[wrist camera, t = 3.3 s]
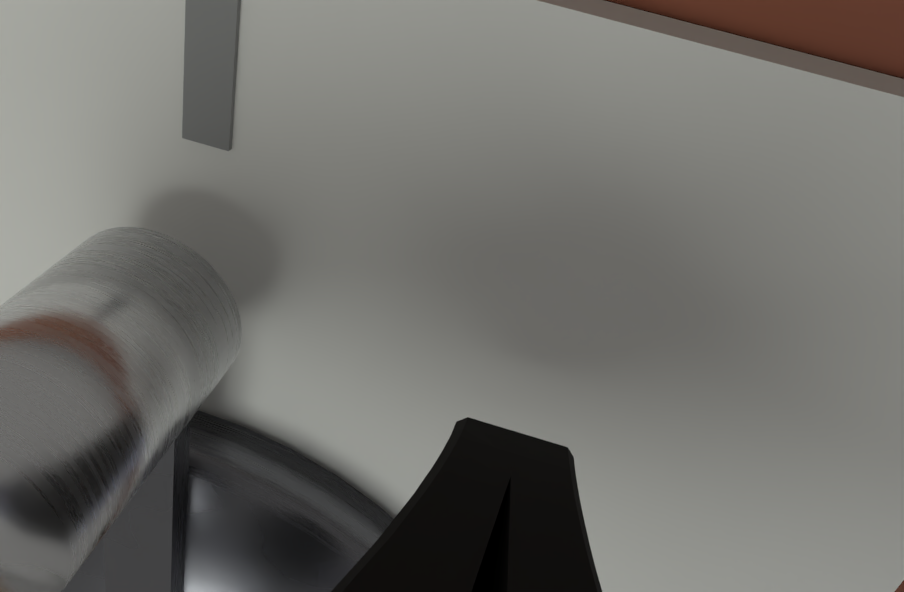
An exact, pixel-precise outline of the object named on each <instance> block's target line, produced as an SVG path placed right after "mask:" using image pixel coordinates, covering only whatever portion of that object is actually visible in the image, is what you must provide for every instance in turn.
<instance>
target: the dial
mask: <svg viewBox="0 0 904 592" xmlns="http://www.w3.org/2000/svg"><path fill="white" fill-rule="evenodd" d="M241 339H242V325H241V319H240V314H239V311H238V307H237V305H236V302H235V300H234V297H233V295H232V293H231V292H230V290H229V288H228V286H227V285H226V283H225V282H224V281H223V279H222V278H221V276H220V275H219V274H218V273H217V271H216V270H215V269H214V268H213V267H212V266H211V265H210V264H209V263H208V262H207V261H206V260H205V259H204V258H203V257H202V256H200V255H199V254H198V253H196V252H195V251H194V250H192V249H191V248H190V247H188V246H186V245H185V244H183V243H181V242H180V241H178V240H176V239H174V238H172V237H170V236H168V235H165V234H162V233H159V232H156V231H153V230H149V229H145V228H138V227H116V228H110V229H106V230H103V231H100V232H98V233H96V234H94V235H92V236H90V237H89V238H88V239H87V240H85V241H84V242H83V243H81V244H80V245H79V246H77V247H76V248H75V249H74V250H72V251H71V252H70V253H68V254H67V255H66V256H64V257H63V258H62V259H61V260H59V261H58V262H57V263H55V264H54V265H53V266H51V267H50V268H49V269H48V270H46V271H45V272H44V273H42V274H41V275H40V276H38V277H37V278H36V279H35V280H33V281H32V282H31V283H29V284H28V285H27V286H25V287H24V288H23V289H22V290H20V291H19V292H18V293H16V294H15V295H14V296H12V297H11V298H10V299H9V300H7V301H6V302H5V303H3V304H2V305H1V306H0V592H331V591H332V590H333V589H334V588H335V586H336V585H337V584H338V583H339V582H340V581H341V580H342V579H343V578H344V577H345V575H346V574H347V573H348V572H349V571H350V570H351V569H352V568H353V567H354V565H355V564H356V563H357V562H358V561H359V560H360V559H361V558H362V557H363V556H364V554H365V553H366V552H367V551H368V550H369V549H370V548H371V547H372V545H373V544H374V543H375V542H376V541H377V540H378V538H379V537H380V536H381V535H382V534H383V532H384V531H385V530H386V528H387V527H388V526H389V525H390V523H391V522H392V521H393V520H394V519H393V518H392V517H391V516H390V515H389V514H388V513H387V512H385V511H384V510H383V509H382V508H381V507H380V506H379V505H377V504H376V503H375V502H373V501H372V500H370V499H369V498H368V497H366V496H365V495H363V494H362V493H361V492H359V491H358V490H356V489H355V488H354V487H352V486H351V485H350V484H348V483H347V482H345V481H344V480H343V479H341V478H340V477H338V476H337V475H335V474H334V473H332V472H330V471H329V470H327V469H325V468H323V467H322V466H320V465H318V464H317V463H315V462H313V461H311V460H310V459H308V458H306V457H305V456H303V455H301V454H299V453H298V452H296V451H294V450H293V449H291V448H289V447H286V446H284V445H282V444H280V443H278V442H276V441H274V440H271V439H269V438H267V437H265V436H263V435H261V434H259V433H256V432H254V431H252V430H250V429H248V428H246V427H244V426H241V425H238V424H235V423H233V422H230V421H227V420H224V419H221V418H219V417H216V416H213V415H210V414H207V413H205V412H202V411H199V410H198V409H199V408H200V406H201V405H202V404H203V402H204V401H205V400H206V398H207V397H208V396H209V394H210V393H211V392H212V390H213V389H214V388H215V386H216V385H217V384H218V382H219V381H220V380H221V378H222V377H223V376H224V374H225V373H226V372H227V370H228V369H229V368H230V366H231V365H232V364H233V362H234V360H235V358H236V357H237V355H238V352H239V349H240V345H241Z"/></svg>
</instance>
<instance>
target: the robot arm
mask: <svg viewBox="0 0 904 592" xmlns="http://www.w3.org/2000/svg"><path fill="white" fill-rule="evenodd" d="M331 592H602V589H601V585H600V582H599V578H598V575H597V571H596V568H595V564H594V560H593V556H592V552H591V548H590V544H589V539H588V535H587V531H586V526H585V522H584V517H583V512H582V507H581V502H580V497H579V492H578V486H577V479H576V473H575V465H574V457H573V455H572V453H571V452H570V450H569V448H568V447H565V446H562V445H559V444H555V443H552V442H549V441H545V440H542V439H539V438H536V437H532V436H529V435H526V434H522V433H519V432H516V431H512V430H509V429H506V428H502V427H499V426H496V425H492V424H489V423H486V422H482V421H479V420H476V419H472V418H469V417H467V418H464V419H462V420H459V421H457V422H456V424H455V426H454V429H453V431H452V434H451V436H450V438H449V440H448V441H447V443H446V445H445V447H444V449H443V451H442V452H441V454H440V456H439V457H438V459H437V460H436V462H435V464H434V465H433V467H432V468H431V470H430V471H429V473H428V474H427V476H426V477H425V478H424V480H423V481H422V483H421V484H420V486H419V487H418V488H417V490H416V491H415V493H414V494H413V495H412V497H411V498H410V499H409V500H408V502H407V503H406V504H405V506H404V507H403V508H402V509H401V511H400V512H399V513H398V514H397V516H396V517H395V518H394V520H393V521H392V522H391V523H390V525H389V526H388V527H387V528H386V530H385V531H384V532H383V534H382V535H381V536H380V537H379V538H378V540H377V541H376V542H375V543H374V544H373V545H372V547H371V548H370V549H369V550H368V551H367V552H366V553H365V554H364V556H363V557H362V558H361V559H360V560H359V561H358V562H357V563H356V564H355V565H354V567H353V568H352V569H351V570H350V571H349V572H348V573H347V574H346V575H345V577H344V578H343V579H342V580H341V581H340V582H339V583H338V584H337V585H336V586H335V588H334V589H333V590H332V591H331Z"/></svg>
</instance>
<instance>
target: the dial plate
mask: <svg viewBox="0 0 904 592" xmlns="http://www.w3.org/2000/svg"><path fill="white" fill-rule="evenodd" d="M116 227H138V228H145V229H149V230H153V231H156V232H159V233H162V234H165V235H168V236H170V237H172V238H174V239H176V240H178V241H180V242H181V243H183V244H185V245H186V246H188V247H190V248H191V249H192V250H194V251H195V252H196V253H198V254H199V255H200V256H202V257H203V258H204V259H205V260H206V261H207V262H208V263H209V264H210V265H211V266H212V267H213V268H214V269H215V270H216V271H217V273H218V274H219V275H220V276H221V278H222V279H223V281H224V282H225V283H226V285H227V286H228V288H229V290H230V292H231V293H232V295H233V297H234V300H235V302H236V305H237V307H238V311H239V314H240V319H241V325H242V339H241V345H240V349H239V352H238V355H237V357H236V358H235V360H234V362H233V364H232V365H231V366H230V368H229V369H228V370H227V372H226V373H225V374H224V376H223V377H222V378H221V380H220V381H219V382H218V384H217V385H216V386H215V388H214V389H213V390H212V392H211V393H210V394H209V396H208V397H207V398H206V400H205V401H204V402H203V404H202V405H201V406H200V408H199V409H198V410H199V411H202V412H205V413H207V414H210V415H213V416H216V417H219V418H221V419H224V420H227V421H230V422H233V423H235V424H238V425H241V426H244V427H246V428H248V429H250V430H252V431H254V432H256V433H259V434H261V435H263V436H265V437H267V438H269V439H271V440H274V441H276V442H278V443H280V444H282V445H284V446H286V447H289V448H291V449H293V450H294V451H296V452H298V453H299V454H301V455H303V456H305V457H306V458H308V459H310V460H311V461H313V462H315V463H317V464H318V465H320V466H322V467H323V468H325V469H327V470H329V471H330V472H332V473H334V474H335V475H337V476H338V477H340V478H341V479H343V480H344V481H345V482H347V483H348V484H350V485H351V486H352V487H354V488H355V489H356V490H358V491H359V492H361V493H362V494H363V495H365V496H366V497H368V498H369V499H370V500H372V501H373V502H375V503H376V504H377V505H379V506H380V507H381V508H382V509H383V510H384V511H385V512H387V513H388V514H389V515H390V516H391V517H392V518H393V519H394V518H395V517H396V516H397V514H398V513H399V512H400V511H401V509H402V508H403V507H404V506H405V504H406V503H407V502H408V500H409V499H410V498H411V497H412V495H413V494H414V493H415V491H416V490H417V488H418V487H419V486H420V484H421V483H422V481H423V480H424V478H425V477H426V476H427V474H428V473H429V471H430V470H431V468H432V467H433V465H434V464H435V462H436V460H437V459H438V457H439V456H440V454H441V452H442V451H443V449H444V447H445V445H446V443H447V441H448V440H449V438H450V436H451V434H452V431H453V429H454V426H455V424H456V422H457V421H459V420H462V419H464V418H467V417H469V418H472V419H476V420H479V421H482V422H486V423H489V424H492V425H496V426H499V427H502V428H506V429H509V430H512V431H516V432H519V433H522V434H526V435H529V436H532V437H536V438H539V439H542V440H545V441H549V442H552V443H555V444H559V445H562V446H565V447H568V448H569V450H570V452H571V453H572V455H573V457H574V465H575V473H576V479H577V486H578V492H579V497H580V502H581V507H582V512H583V517H584V522H585V526H586V531H587V535H588V539H589V544H590V548H591V552H592V556H593V560H594V564H595V568H596V571H597V575H598V578H599V582H600V585H601V589H602V592H894V591H895V590H896V589H897V588H898V586H899V585H900V584H901V583H902V581H903V580H904V79H901V78H898V77H894V76H890V75H886V74H882V73H879V72H875V71H871V70H867V69H863V68H860V67H856V66H852V65H848V64H844V63H841V62H837V61H833V60H829V59H825V58H822V57H818V56H814V55H810V54H806V53H803V52H799V51H795V50H791V49H787V48H784V47H780V46H776V45H772V44H768V43H765V42H761V41H757V40H753V39H749V38H746V37H742V36H738V35H734V34H730V33H727V32H723V31H719V30H715V29H711V28H707V27H704V26H700V25H696V24H692V23H688V22H685V21H681V20H677V19H673V18H669V17H666V16H662V15H658V14H654V13H650V12H647V11H643V10H639V9H635V8H631V7H628V6H624V5H620V4H616V3H612V2H609V1H605V0H0V306H1V305H2V304H3V303H5V302H6V301H7V300H9V299H10V298H11V297H12V296H14V295H15V294H16V293H18V292H19V291H20V290H22V289H23V288H24V287H25V286H27V285H28V284H29V283H31V282H32V281H33V280H35V279H36V278H37V277H38V276H40V275H41V274H42V273H44V272H45V271H46V270H48V269H49V268H50V267H51V266H53V265H54V264H55V263H57V262H58V261H59V260H61V259H62V258H63V257H64V256H66V255H67V254H68V253H70V252H71V251H72V250H74V249H75V248H76V247H77V246H79V245H80V244H81V243H83V242H84V241H85V240H87V239H88V238H89V237H90V236H92V235H94V234H96V233H98V232H100V231H103V230H106V229H110V228H116Z"/></svg>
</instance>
